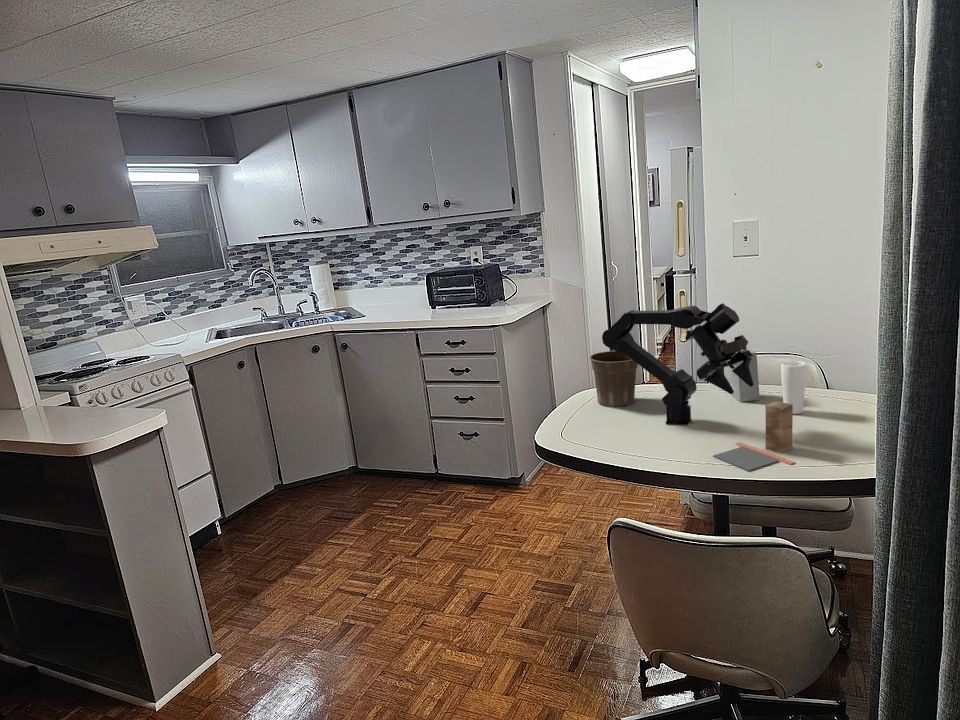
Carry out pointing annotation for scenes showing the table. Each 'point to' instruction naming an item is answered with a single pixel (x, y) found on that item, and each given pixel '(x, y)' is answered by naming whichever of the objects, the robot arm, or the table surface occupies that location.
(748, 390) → the skincare box
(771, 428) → the walnut block
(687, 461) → the table surface
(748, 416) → the table surface
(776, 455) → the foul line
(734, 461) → the mat
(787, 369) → the drinking glass
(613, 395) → the plant pot
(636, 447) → the table surface
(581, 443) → the table surface
